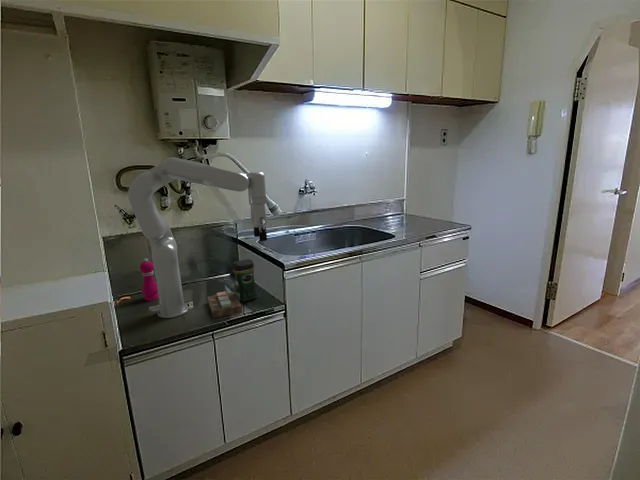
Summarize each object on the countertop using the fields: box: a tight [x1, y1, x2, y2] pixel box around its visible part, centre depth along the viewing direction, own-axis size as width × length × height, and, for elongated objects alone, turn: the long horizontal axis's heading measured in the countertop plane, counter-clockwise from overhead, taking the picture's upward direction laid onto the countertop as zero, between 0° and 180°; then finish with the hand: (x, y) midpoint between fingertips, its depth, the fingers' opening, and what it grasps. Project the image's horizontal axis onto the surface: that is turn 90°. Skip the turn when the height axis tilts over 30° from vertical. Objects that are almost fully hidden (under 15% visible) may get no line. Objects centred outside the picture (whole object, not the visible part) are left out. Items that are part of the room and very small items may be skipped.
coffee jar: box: [232, 258, 258, 303], centre depth 171 cm, size 10×8×19 cm
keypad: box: [207, 291, 243, 319], centre depth 164 cm, size 12×18×3 cm, turn 23°
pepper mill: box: [139, 257, 159, 302], centre depth 176 cm, size 7×7×20 cm
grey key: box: [218, 296, 229, 304], centre depth 163 cm, size 4×4×3 cm
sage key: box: [220, 300, 231, 309], centre depth 158 cm, size 4×4×3 cm
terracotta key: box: [216, 290, 227, 299], centre depth 168 cm, size 4×4×3 cm
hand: (260, 238), depth 167 cm, fingers open, 9 cm apart
